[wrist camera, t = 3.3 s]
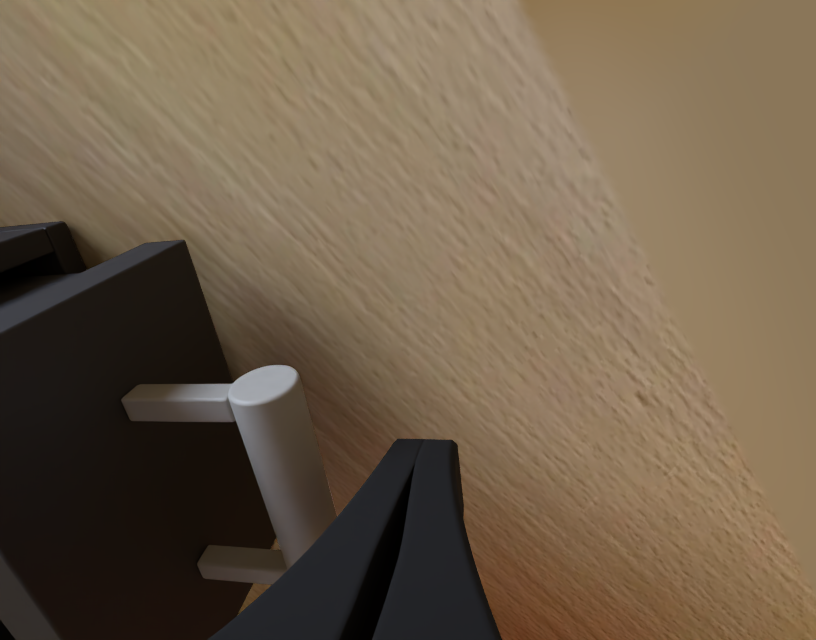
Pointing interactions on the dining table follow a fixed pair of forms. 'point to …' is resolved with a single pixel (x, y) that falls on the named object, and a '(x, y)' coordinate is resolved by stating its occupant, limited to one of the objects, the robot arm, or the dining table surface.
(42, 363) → the drawer
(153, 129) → the dining table surface
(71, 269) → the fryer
